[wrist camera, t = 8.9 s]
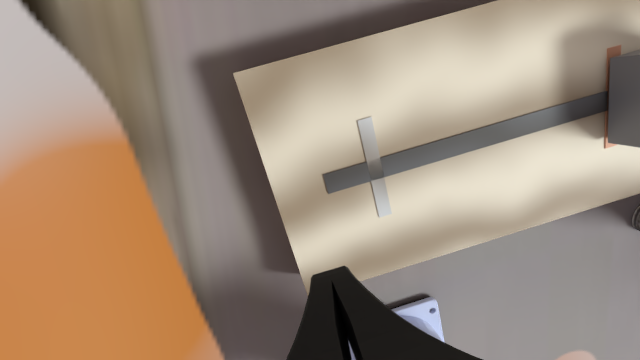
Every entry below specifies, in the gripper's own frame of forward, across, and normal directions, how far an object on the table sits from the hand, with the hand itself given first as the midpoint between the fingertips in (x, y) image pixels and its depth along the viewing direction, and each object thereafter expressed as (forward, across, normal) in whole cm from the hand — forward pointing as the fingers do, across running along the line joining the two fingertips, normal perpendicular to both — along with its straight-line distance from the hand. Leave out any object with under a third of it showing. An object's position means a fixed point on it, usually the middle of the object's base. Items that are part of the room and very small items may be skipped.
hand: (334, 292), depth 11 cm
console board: (+9, -11, -2) cm, 15 cm away
